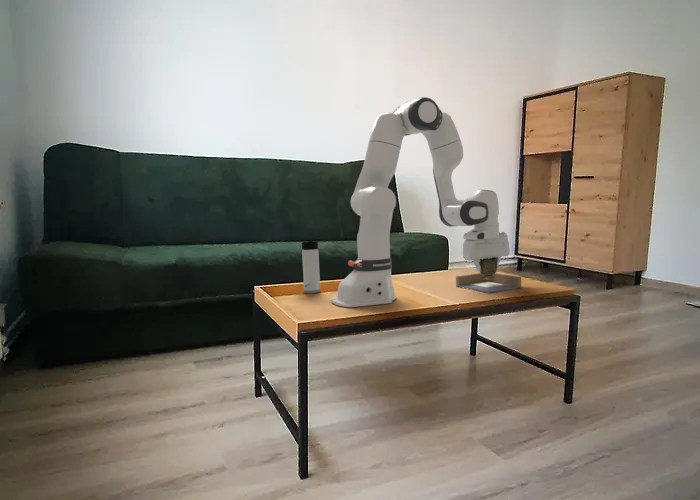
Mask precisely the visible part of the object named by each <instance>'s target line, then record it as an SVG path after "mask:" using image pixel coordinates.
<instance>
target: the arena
mask: <svg viewBox="0 0 700 500" xmlns="http://www.w3.org/2000/svg"><path fill="white" fill-rule="evenodd" d="M493 276H494V278H493V279H490V280H486V279H484V275H482V274H481V273H480V272H477V273H470V274H469V273H468V274H462V275H461V274H460V275H456V276H455V286H459V287H458V288H461V287H464V288H463V289H466V288H468V289H467V290H470V289H472V290H471V291H475V290H476V292H481V293H484V292H485V294H492V293H498V292H505V291H510V290H511V291H512V290H517V289H522V276H517V275H511V274H505V273H504V274H503V273H497V272H496V273H495V274H494V275H493Z"/></svg>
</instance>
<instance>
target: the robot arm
mask: <svg viewBox="0 0 700 500" xmlns="http://www.w3.org/2000/svg"><path fill="white" fill-rule="evenodd" d="M420 133H421V134H422V135H423V136H424V138H425V139H426V141H427V145H428V147H429V152H430V155H431V160H432V165H433V166H432V174H433V179H434V184H435V189H436V193H437V197H438V203H439V204H438V205H439V206H438V207H439V208H438V214H439V219H440V221H441V222H442V223H443V225H445V226H447V227H450V228H451V227H472V226H474V227H473V229H471V230H469V231H468V232H467V231H466V233H465V232H464V234H463V239H464V241H463V245H462V257H463V259H464V260H465V261H472V262H473V265H474V266H475V271H476V272H477V273H480V271H482V267H481V266H480V264H479V262H480V259H482V260H483V259H487V258H495V257H496V259H497V258H498V259H497V270H498V269H499V263H500V262H501V259H502V258H501V257H508V256H509V255H510V253H511V252H510V242H509V236H508V234H507V233H506V232H504V231H501V232H500V224H499V219H498V217H499V214H500V213H499V212H500V209H499V199H498V194H497V193H496V192H495V191H493V190H491V189H477V190H476V191H475V192H474V193H473V194H472V195H471V196H469V197H467V198H465V199H460V200H459V199H458V198H457V197H456V195H455V190H454V186H453V185H454V184H453V181H452V174H453V172H454V171H455V169H456V168H458V166H459V165H460V163H461V162H462V161H463V159H464V147H463V143H462V141H461V138H460V134H459V131H458V129H457V127H456V124H455V123H454V121H453V119H452V117H451V115H450V114H449V113H446V112H443V111H442V110H441V109H440V107H439V105H438V104H437V103H436V101H435V100H433V99H432V98H430V97H423V96H421V97H418V98H415V99H413V100H409V101H407V102H405V103H403V104H402V105H400V106H398V107H397V108H395V109H394V110H393V112H383V113H381V114H379V115H377V117H376V120H375V121H374V123H373V126H372V129H371V132H370V136H369V140H368V143H367V148H366V153H365V158H364V162H363V166H362V169H361V171H360V173H359V176H358V178H357V181H356V185H355V188H354V191H353V194H352V195H351V197H350V206H351V209H352V211H353V212H354V213H355V214H356V215H357V216H360V218H359V228H358V233H357V235H356V236H357V237H356V243H357V258H356V260H355V261H354V260H351V259H350V260H348V261H347V265H348V266H349V267H352V268H353V270H352V271H351V272H349V274H348V275H347V276H346V277H345V278H343V280H342V281H340V282H339V284H338V287H337V294H336V295H337V296H333V297H331V301H330V302H331V303H332V304H334V305H336V306H339V307H344V308H355V307H367V306H374V305H385V304H392V303H393V301H395V300H396V299H397V295H396V293H395V289H394V288H395V287H394V284H393V278H392V277H393V276H392V270H393V266H392V257H391V246H390V245H391V243H390V242H391V241H390V237H391V234H390V233H391V227H392V221H393V220H392V219H393V215H394V214H393V213H394V209H395V207H396V205H397V198H396V195H395V193H394V192H393V190H392V189H390V188H389V185H390V183H391V180H392V178H393V177H394V175H395V173H396V171H397V166H398V162H399V161H398V160H399V157H400V153H401V148H402V143H403V139H404V138H405V136H407V137H408V136H411V135H417V134H420Z"/></svg>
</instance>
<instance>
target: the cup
mask: <svg viewBox="0 0 700 500" xmlns="http://www.w3.org/2000/svg"><path fill="white" fill-rule="evenodd" d="M497 259H498V258H497ZM497 259H496V257H495V258H487V259H480V262H479V264H480V266H481V267H482V271H479V273H481V274H482V275H484V279H486V280H490V279H493V278H494V276H493V275H494V274H495V273H497V270H498V269H497Z"/></svg>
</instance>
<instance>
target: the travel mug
mask: <svg viewBox="0 0 700 500" xmlns="http://www.w3.org/2000/svg"><path fill="white" fill-rule="evenodd" d="M301 251H302V252H301V255H302V257H301V258H302V259H301V260H302V273H303V274H302V275H303V277H302V278H303V292H304V294H307V295H310V294H319V293H320V292H321V277H320V276H321V275H320V257H319V256H320V255H319V242H318V241H316V240H315V241H314V240H308V241H303V242H301Z"/></svg>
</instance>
